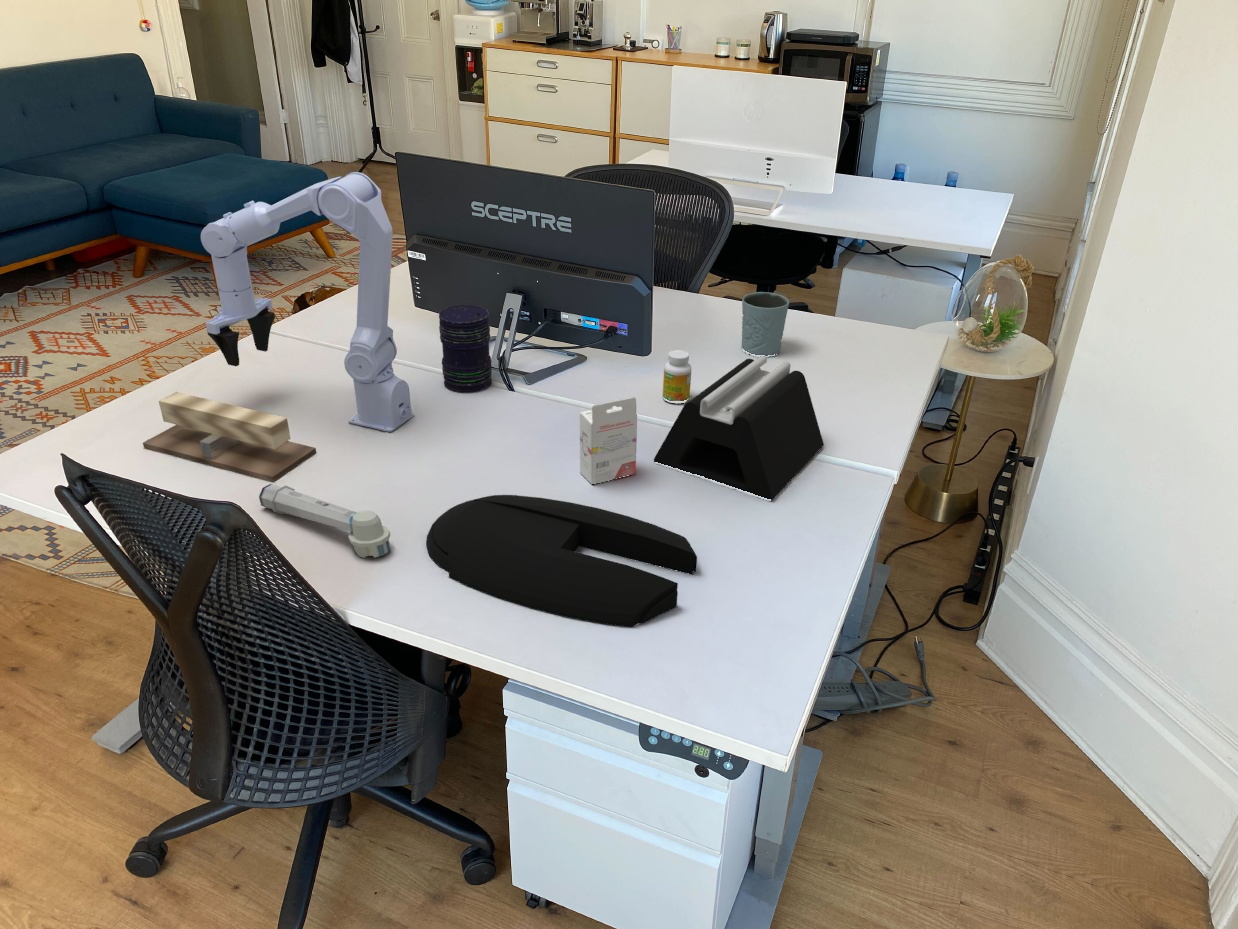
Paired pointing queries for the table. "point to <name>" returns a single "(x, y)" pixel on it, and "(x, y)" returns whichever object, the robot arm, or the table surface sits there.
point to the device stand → (746, 430)
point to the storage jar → (465, 348)
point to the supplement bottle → (677, 376)
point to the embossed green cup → (763, 322)
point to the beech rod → (225, 420)
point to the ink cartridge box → (608, 441)
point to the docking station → (560, 557)
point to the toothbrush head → (331, 518)
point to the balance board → (232, 453)
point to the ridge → (216, 445)
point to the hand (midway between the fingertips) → (248, 357)
